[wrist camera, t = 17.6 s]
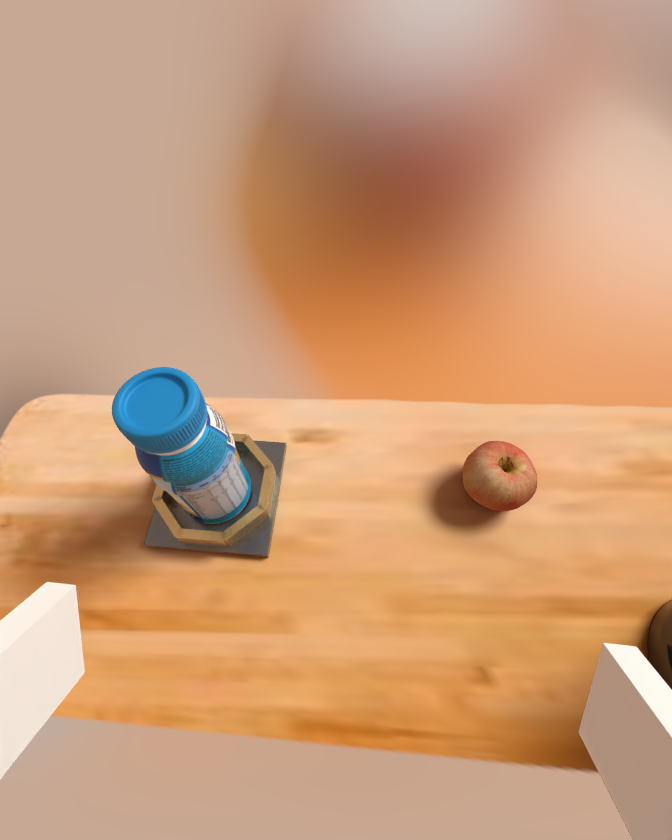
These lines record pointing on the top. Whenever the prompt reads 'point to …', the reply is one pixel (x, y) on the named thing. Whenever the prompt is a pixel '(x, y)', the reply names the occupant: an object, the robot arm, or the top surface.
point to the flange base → (239, 532)
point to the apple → (499, 476)
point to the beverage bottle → (183, 443)
